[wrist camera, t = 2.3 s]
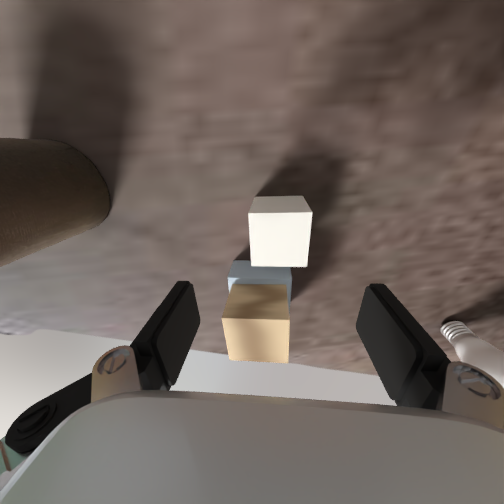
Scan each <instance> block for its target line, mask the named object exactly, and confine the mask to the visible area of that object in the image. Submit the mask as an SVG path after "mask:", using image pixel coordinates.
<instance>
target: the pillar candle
mask: <svg viewBox="0 0 504 504" xmlns="http://www.w3.org/2000/svg"><path fill="white" fill-rule="evenodd" d="M109 208H110V198H109V192H108V190H107V187H106V184H105V182H104V180H103V178H102V176H101V175H100V174H99V172H98V171H97V169H96V168H95V166H94V165H93V164H92V162H91V161H90V160H89V159H88V158H87V157H85V156H84V155H83V154H81V153H80V152H78V151H77V150H76V149H75V148H73V147H71V146H69V145H67V144H65V143H62V142H59V141H55V140H41V139H16V138H0V267H1V266H4V265H6V264H9V263H11V262H13V261H16V260H18V259H20V258H23V257H25V256H27V255H30V254H32V253H35V252H37V251H39V250H41V249H44V248H46V247H49V246H52V245H54V244H56V243H59V242H61V241H63V240H66V239H68V238H71V237H73V236H75V235H78V234H80V233H83V232H85V231H87V230H90V229H92V228H94V227H96V226H99V225H100V224H101V223H102V222H103V221H104V219H105V218H106V216H107V214H108V212H109Z"/></svg>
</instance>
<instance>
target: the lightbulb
mask: <svg viewBox="0 0 504 504" xmlns="http://www.w3.org/2000/svg"><path fill="white" fill-rule="evenodd" d="M440 331H441V333H442V334H443V335H444V336H445V337H446V339H447V340H448V341H449V342H450V343H451V344H452V345H453V346H454V347H455V351H456V353H457V355H458V357H459V358H460V360H461V362H464V363H468V364H471V365H473V366H476V367H478V368H479V369H481V370H483V371H485V372H486V373H488V374H489V375H491V376H492V377H493V378H495V379H496V380H497V381H498V382H499V383H500V384H501V385H502V387H503V388H504V351H503V350H500V349H498V348H496V347H494V346H493V345H491V344H490V343H488V342H487V341H485V340H483V339H481V338H479V337H478V336H477V335H475V334H474V333H473V332H472V331H471V330H470V329H469V328H468V327H466V325H465V324H463V323H462V322H460V321H451V322H447V323H445V324H444V325H443V326H442V327H441V329H440Z"/></svg>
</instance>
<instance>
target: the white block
mask: <svg viewBox="0 0 504 504" xmlns="http://www.w3.org/2000/svg"><path fill="white" fill-rule="evenodd" d="M312 213H313V212H312V211H311V209H310V207H309V206H308V204H307V202H306V200H305V199H304V197H303V196H265V197H255V198H254V200H253V203H252V205H251V208H250V210H249V213H248V215H249V233H250V251H251V266H274V267H307V261H308V251H309V242H310V232H311V222H312Z"/></svg>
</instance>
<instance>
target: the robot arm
mask: <svg viewBox="0 0 504 504" xmlns="http://www.w3.org/2000/svg"><path fill="white" fill-rule="evenodd" d="M199 325H200V316H199V311H198V306H197V302H196V297H195V293H194V288H193V284H190V282H189V281H178V282H177V283H176V284H175V285H174V287H173V288H172V290H171V291H170V292H169V294H168V295H167V296H166V298H165V299H164V300H163V302H162V303H161V305H160V306H159V307H158V308H157V309H156V311H155V312H154V313H153V315H152V316H151V318H150V319H149V320H148V322H147V323H146V324H145V326H144V327H143V328H142V330H141V331H140V333H139V334H138V335H137V337H136V338H135V339H134V341H133V342H132V344H131V345H130V346H119V347H116V348H113V349H111V350H109V351H108V352H106V353H105V354H104V355H102V356H101V357H100V358H99V359H98V360H97V362H96V363H95V365H94V367H93V371H92V373H90V374H89V375H87V376H85V377H83V378H81V379H80V380H77V381H76V382H74V383H72V384H70V385H68V386H66V387H65V388H63V389H61V390H59V391H57V392H55V393H54V394H52V395H50V396H48V397H46V398H44V399H42V400H41V401H39V402H37V403H36V404H34V405H33V406H31V407H29V408H28V409H27V410H26V411H24V412H23V413H22V414H21V415H20V416H19V417H18V418H17V419H16V420H15V421H14V422H13V424H12V425H11V427H10V428H9V429H8V432H7V434H6V436H5V437H3V438H2V439H1V440H0V504H504V388H503V387H502V385H501V384H500V383H499V382H498V381H497V380H496V379H495V378H493V377H492V376H491V375H489V374H488V373H486V372H485V371H483V370H481V369H479V368H478V367H476V366H473V365H471V364H468V363H464V362H460V361H457V362H451V361H450V360H449V359H448V358H447V357H446V356H447V355H446V354H445V353H444V352H443V350H442V349H441V348H440V347H439V346H438V345H437V344H436V342H435V341H434V340H433V339H432V338H431V337H430V336H429V334H428V333H427V332H426V331H425V330H424V329H423V328H422V326H421V325H420V324H419V323H418V322H417V321H416V320H415V318H414V317H413V316H412V315H411V314H410V313H409V312H408V310H407V309H406V308H405V307H404V306H403V305H402V304H401V302H400V301H399V300H398V299H397V298H396V297H395V296H394V294H393V293H392V292H391V291H390V290H389V289H388V288H387V286H386V285H384V284H370V285H369V286H367V287H366V289H365V293H364V296H363V300H362V304H361V307H360V311H359V315H358V319H357V322H356V329H357V332H358V334H359V336H360V338H361V340H362V342H363V344H364V346H365V348H366V350H367V352H368V354H369V356H370V358H371V360H372V362H373V365H374V367H375V369H376V371H377V373H378V375H379V377H380V379H381V381H382V383H383V385H384V387H385V389H386V391H387V393H388V395H389V397H390V398H391V399H392V400H395V402H396V404H397V406H390V405H380V404H365V403H352V402H339V401H326V400H312V399H297V398H283V397H268V396H254V395H238V394H237V395H236V394H222V393H206V392H189V391H169V390H170V388H171V385H174V384H175V383H176V381H177V378H178V376H179V373H180V371H181V369H182V366H183V364H184V361H185V359H186V356H187V354H188V352H189V349H190V347H191V344H192V342H193V340H194V337H195V335H196V332H197V330H198V328H199Z"/></svg>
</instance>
